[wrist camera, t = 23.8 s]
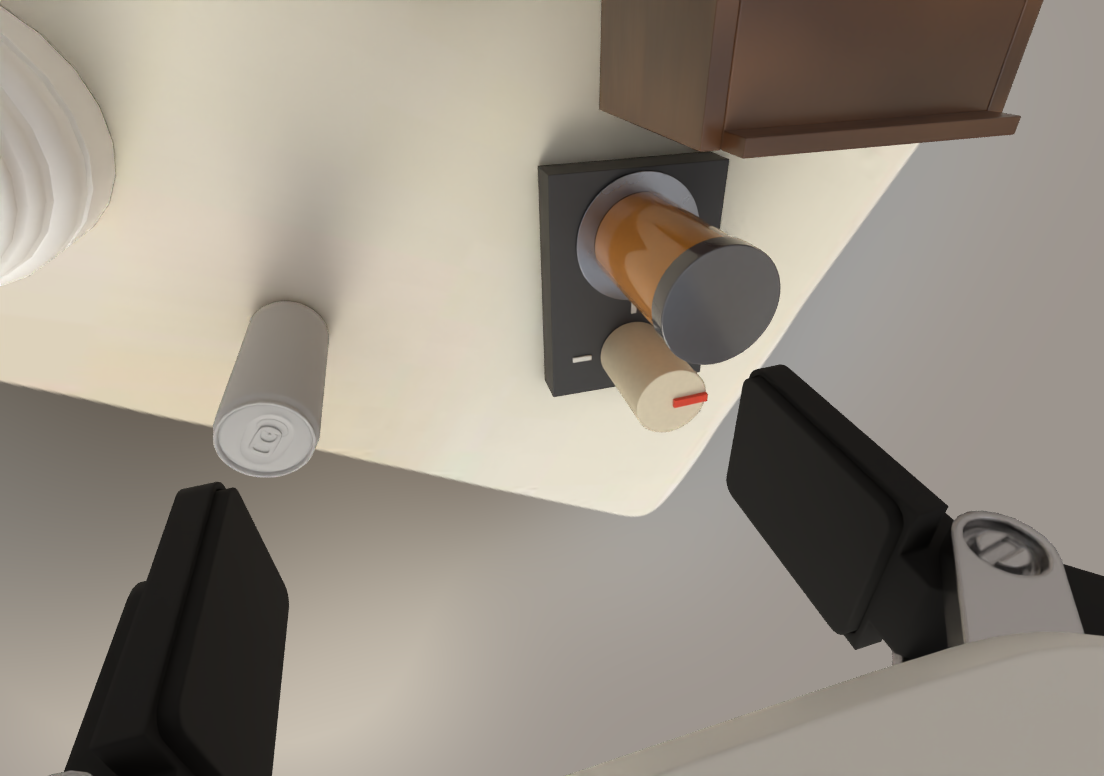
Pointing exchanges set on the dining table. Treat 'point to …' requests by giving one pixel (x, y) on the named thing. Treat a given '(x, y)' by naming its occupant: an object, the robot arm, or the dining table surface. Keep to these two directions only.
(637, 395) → the knob
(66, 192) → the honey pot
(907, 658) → the robot arm
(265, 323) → the beverage can
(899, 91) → the shelf
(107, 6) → the dining table surface
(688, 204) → the pale grey disc
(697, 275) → the jar
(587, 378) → the hot plate
